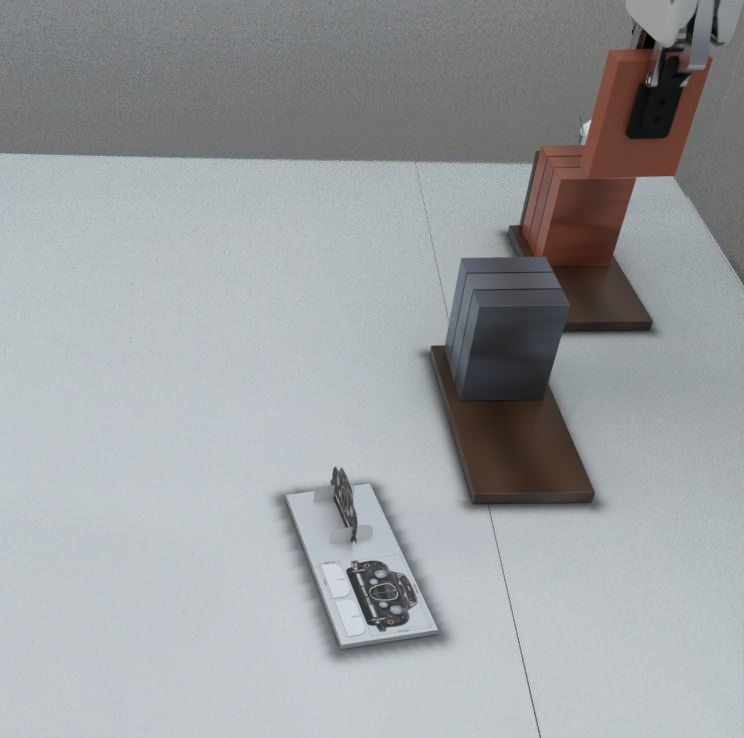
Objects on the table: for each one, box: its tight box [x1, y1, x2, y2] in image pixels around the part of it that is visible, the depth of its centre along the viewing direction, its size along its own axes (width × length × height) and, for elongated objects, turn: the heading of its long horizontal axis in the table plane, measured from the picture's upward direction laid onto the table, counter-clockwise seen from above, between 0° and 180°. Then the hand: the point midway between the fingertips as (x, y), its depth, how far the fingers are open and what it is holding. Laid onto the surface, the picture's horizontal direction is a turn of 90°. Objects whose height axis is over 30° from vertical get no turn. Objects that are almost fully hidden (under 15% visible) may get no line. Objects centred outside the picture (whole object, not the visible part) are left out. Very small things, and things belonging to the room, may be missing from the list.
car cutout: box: [285, 466, 439, 650], centre depth 68 cm, size 15×7×4 cm, turn 11°
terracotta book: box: [580, 48, 714, 178], centre depth 76 cm, size 7×2×9 cm, turn 91°
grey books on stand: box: [429, 256, 596, 504], centre depth 78 cm, size 9×20×10 cm, turn 0°
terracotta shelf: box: [507, 144, 654, 332], centre depth 94 cm, size 9×19×10 cm, turn 0°
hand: (639, 127), depth 77 cm, fingers closed on terracotta book, 2 cm apart
